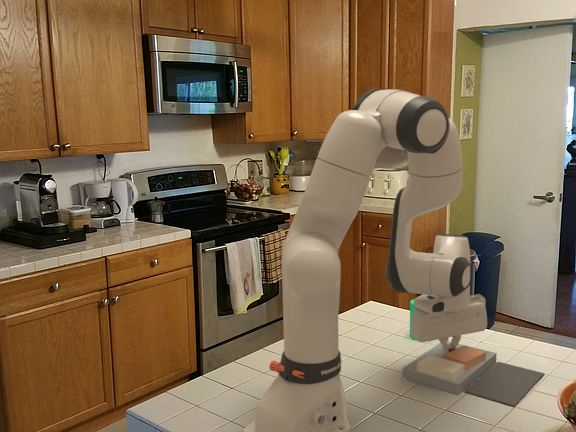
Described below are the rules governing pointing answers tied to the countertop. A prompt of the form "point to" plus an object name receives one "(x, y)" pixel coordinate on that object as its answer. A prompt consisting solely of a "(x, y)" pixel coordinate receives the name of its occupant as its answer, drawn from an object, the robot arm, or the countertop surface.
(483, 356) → the terracotta tile
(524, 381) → the mat
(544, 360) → the countertop surface
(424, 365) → the cream tile
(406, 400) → the countertop surface
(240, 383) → the countertop surface
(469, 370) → the platform
